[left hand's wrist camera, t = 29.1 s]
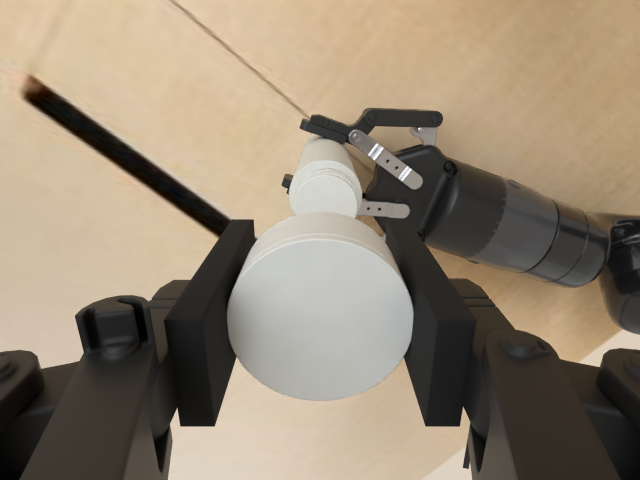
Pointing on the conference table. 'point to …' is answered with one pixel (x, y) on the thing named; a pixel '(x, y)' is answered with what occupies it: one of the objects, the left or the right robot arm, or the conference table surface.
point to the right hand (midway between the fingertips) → (293, 151)
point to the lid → (320, 308)
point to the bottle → (325, 180)
